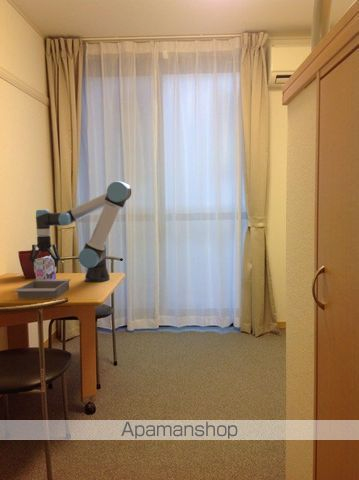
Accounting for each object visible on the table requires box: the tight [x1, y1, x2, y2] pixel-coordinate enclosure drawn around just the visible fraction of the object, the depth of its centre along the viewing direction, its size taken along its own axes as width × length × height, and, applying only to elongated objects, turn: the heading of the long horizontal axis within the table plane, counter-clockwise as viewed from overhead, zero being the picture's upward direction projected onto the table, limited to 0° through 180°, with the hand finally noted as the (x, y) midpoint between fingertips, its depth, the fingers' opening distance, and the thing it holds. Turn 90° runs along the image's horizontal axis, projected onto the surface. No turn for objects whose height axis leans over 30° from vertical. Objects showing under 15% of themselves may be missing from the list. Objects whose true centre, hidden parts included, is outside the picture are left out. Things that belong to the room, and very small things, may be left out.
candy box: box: [35, 255, 57, 280], centre depth 224 cm, size 14×6×16 cm, turn 170°
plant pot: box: [17, 249, 51, 279], centre depth 250 cm, size 19×19×17 cm
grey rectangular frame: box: [13, 278, 72, 299], centre depth 202 cm, size 20×27×5 cm
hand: (45, 272), depth 224 cm, fingers open, 11 cm apart
